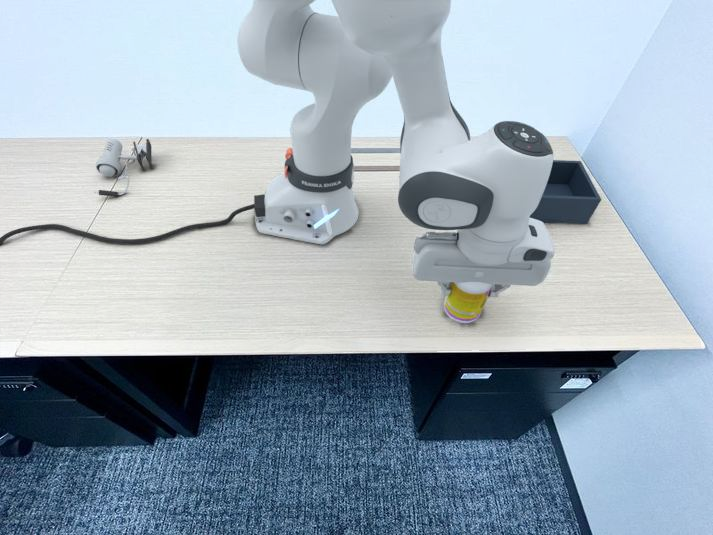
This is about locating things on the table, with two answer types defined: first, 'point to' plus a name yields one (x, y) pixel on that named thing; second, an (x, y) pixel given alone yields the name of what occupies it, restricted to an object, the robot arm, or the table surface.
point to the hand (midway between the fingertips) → (468, 293)
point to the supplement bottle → (466, 300)
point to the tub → (567, 195)
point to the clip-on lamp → (111, 164)
